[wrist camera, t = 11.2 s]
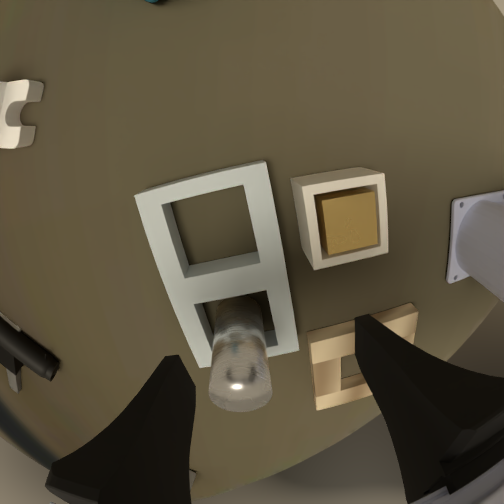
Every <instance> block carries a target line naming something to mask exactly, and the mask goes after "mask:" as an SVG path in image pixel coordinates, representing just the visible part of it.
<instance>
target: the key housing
mask: <svg viewBox="0 0 504 504" xmlns="http://www.w3.org/2000/svg"><path fill="white" fill-rule="evenodd" d="M290 180H291V186H292V191H293V197H294V203H295V209H296V215H297V221H298V227H299V234H300V240H301V247H302V250H303V251H304V253H305V255H306V257H307V259H308V260H309V262H310V264H311V266H312V267H313V269H314V270H318V269H322V268H326V267H331V266H335V265H339V264H343V263H348V262H352V261H356V260H360V259H364V258H369V257H373V256H377V255H381V254H385V253H388V218H387V201H386V187H385V176H384V173H381V172H378V171H374V170H370V169H367V168H363V167H355V168H348V169H341V170H335V171H329V172H323V173H317V174H311V175H305V176H299V177H294V178H290ZM360 186H363V187H365V188H368V189H370V190H372V191H374V192H375V204H376V219H377V240H378V244H375V245H370V246H366V247H362V248H357V249H353V250H349V251H344V252H340V253H335V254H331V255H328V254H327V252H326V251H325V250H324V248H323V247H322V246H321V245H320V238H319V231H318V223H317V216H316V209H315V202H314V195H315V194H320V193H326V192H331V191H337V190H343V189H348V188H354V187H360Z"/></svg>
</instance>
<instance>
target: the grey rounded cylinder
mask: <svg viewBox="0 0 504 504" xmlns="http://www.w3.org/2000/svg"><path fill="white" fill-rule="evenodd" d="M209 397H210V399H211V401H212V402H213V403H214V404H215V405H217V406H218V407H220V408H222V409H225V410H229V411H234V412H246V411H252V410H256V409H258V408H260V407H262V406H264V405H265V404H267V403H268V402H269V400H270V399H271V397H272V386H271V378H270V371H269V364H268V357H267V349H266V342H265V335H264V327H263V320H262V313H261V308H260V306H259V304H258V303H257V302H256V301H255V300H254V299H252V298H250V297H248V296H244V295H240V296H235V297H230V298H225V299H224V300H223V301H222V302H221V303H220V304H219V305H218V307H217V310H216V319H215V329H214V339H213V349H212V360H211V372H210V383H209Z"/></svg>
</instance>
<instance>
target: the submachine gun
mask: <svg viewBox="0 0 504 504" xmlns="http://www.w3.org/2000/svg"><path fill="white" fill-rule="evenodd" d="M0 363H1V364H2V365H3V366H4V367H6V369H7V374H8V379H9V384H10V388H12V389H13V390H14V391H16V392H17V393H19V392H20V390H21V371H20V369H21V367H22V366H23V364H24V365H26V366H27V367H28V368H30V369H31V370H32V371H34V372H35V373H36V374H38V375H39V376H41V377H43V378H46V379H48V380H49V381H52V380H53V378H54V376H55V374H56V372H57V370H58V367H59V363H58V362H57V361H55V359H54V358H53V356H52V355H50V354H49V353H48V352H46V351H45V350H43V349H42V348H41V347H39V346H38V345H37V344H35V343H34V342H33V341H31V340H30V339H29V338H27V337H26V336H25V335H24V334H22V333H21V329H20V328H19V327H18V326H16V325H15V324H14V323H13V322H12V321H10V320H9V319H8V318H7V317H6V316H5V315H3V314H2V313H1V312H0Z"/></svg>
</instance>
